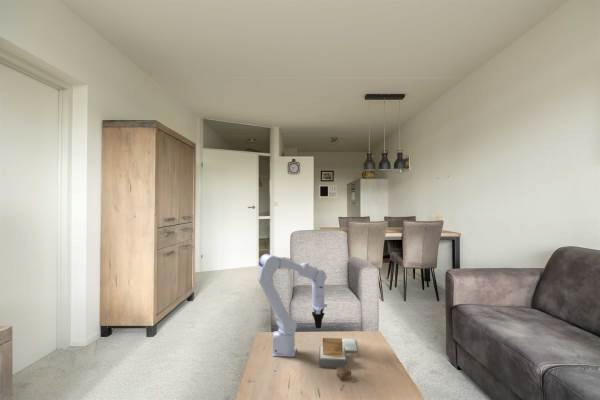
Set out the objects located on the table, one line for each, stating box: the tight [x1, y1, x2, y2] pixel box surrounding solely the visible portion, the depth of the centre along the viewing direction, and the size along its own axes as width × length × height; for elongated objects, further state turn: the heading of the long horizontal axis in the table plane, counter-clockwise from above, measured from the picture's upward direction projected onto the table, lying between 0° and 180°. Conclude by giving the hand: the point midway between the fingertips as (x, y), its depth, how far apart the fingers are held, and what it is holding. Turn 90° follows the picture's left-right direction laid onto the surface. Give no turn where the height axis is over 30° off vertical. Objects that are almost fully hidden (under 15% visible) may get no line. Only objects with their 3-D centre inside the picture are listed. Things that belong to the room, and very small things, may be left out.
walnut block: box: [336, 365, 352, 382], centre depth 112 cm, size 4×4×3 cm
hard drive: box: [342, 338, 358, 354], centre depth 137 cm, size 2×8×12 cm
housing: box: [322, 337, 343, 355], centre depth 124 cm, size 8×4×5 cm, turn 85°
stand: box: [318, 346, 348, 369], centre depth 124 cm, size 11×11×3 cm
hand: (318, 324), depth 139 cm, fingers open, 7 cm apart
